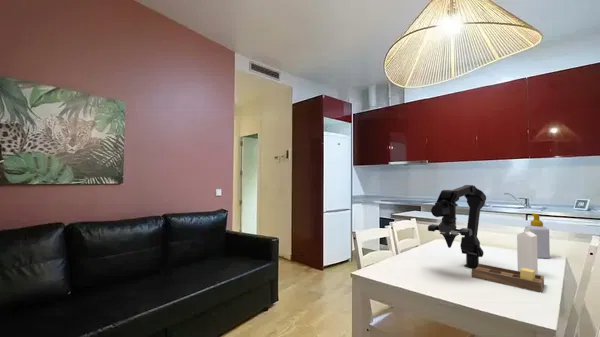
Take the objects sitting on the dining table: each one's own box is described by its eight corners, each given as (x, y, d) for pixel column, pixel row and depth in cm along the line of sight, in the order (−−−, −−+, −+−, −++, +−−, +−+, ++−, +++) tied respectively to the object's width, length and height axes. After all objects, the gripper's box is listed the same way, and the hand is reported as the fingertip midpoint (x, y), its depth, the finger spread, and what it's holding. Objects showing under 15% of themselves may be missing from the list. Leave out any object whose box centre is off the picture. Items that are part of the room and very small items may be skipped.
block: (522, 279, 124) (523, 267, 124) (534, 282, 120) (535, 270, 120) (520, 281, 121) (520, 269, 121) (532, 284, 118) (532, 272, 118)
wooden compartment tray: (478, 271, 141) (478, 263, 141) (544, 284, 124) (543, 276, 124) (471, 277, 133) (471, 268, 133) (541, 292, 115) (541, 283, 115)
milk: (537, 274, 137) (537, 229, 137) (532, 276, 134) (531, 230, 134) (523, 271, 142) (522, 227, 142) (517, 272, 139) (516, 228, 139)
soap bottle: (541, 254, 171) (540, 213, 172) (550, 259, 163) (550, 215, 163) (524, 253, 173) (523, 213, 174) (532, 258, 165) (532, 214, 165)
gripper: (423, 215, 139) (423, 247, 139) (465, 219, 126) (466, 254, 126) (431, 213, 147) (432, 243, 147) (472, 217, 134) (472, 250, 134)
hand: (449, 247), depth 138 cm, fingers closed
